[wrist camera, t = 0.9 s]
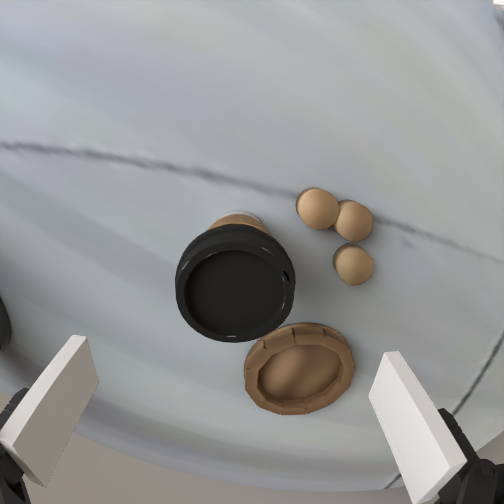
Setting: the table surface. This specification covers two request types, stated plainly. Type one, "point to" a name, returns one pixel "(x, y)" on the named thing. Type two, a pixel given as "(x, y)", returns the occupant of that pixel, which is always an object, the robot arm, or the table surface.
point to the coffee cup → (235, 280)
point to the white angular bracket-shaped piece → (498, 4)
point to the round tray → (298, 369)
